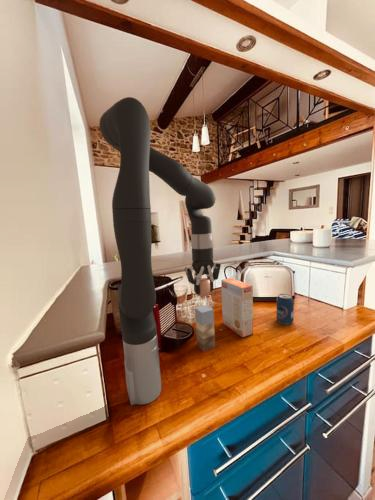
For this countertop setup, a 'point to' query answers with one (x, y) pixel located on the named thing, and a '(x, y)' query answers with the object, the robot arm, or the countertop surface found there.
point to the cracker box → (237, 306)
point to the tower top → (204, 315)
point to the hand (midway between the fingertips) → (204, 292)
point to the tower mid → (205, 330)
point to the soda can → (285, 308)
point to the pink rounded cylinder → (204, 287)
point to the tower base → (206, 342)
